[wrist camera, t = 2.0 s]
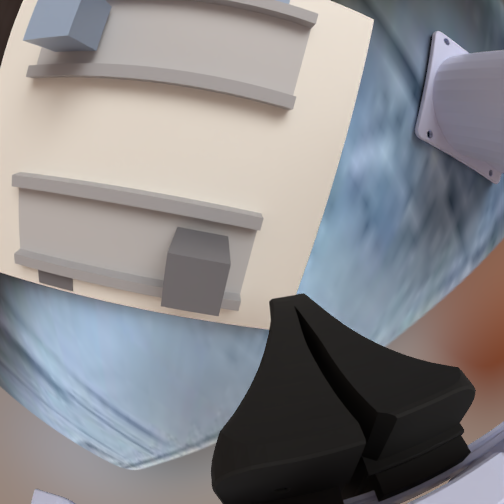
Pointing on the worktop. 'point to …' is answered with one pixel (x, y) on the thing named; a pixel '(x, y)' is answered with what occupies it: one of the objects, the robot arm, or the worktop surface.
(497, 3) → the worktop surface
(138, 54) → the switch panel
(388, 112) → the worktop surface
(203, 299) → the charcoal tab
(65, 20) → the slate tab
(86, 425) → the worktop surface
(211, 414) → the worktop surface
